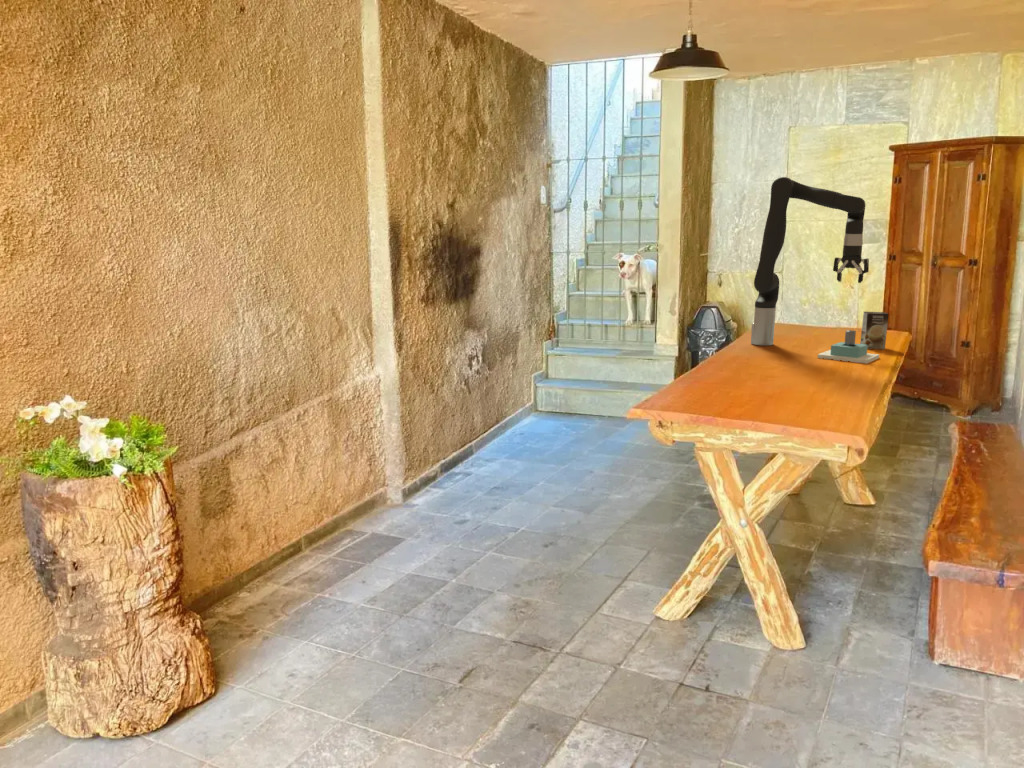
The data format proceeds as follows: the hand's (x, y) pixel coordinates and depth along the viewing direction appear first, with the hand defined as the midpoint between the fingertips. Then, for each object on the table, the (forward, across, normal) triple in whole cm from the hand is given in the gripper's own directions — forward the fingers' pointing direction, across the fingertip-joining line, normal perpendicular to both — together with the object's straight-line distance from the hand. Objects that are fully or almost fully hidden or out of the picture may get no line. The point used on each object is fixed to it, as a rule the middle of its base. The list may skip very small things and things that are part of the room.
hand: (849, 282), depth 350 cm
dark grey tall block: (+29, +8, -18) cm, 35 cm away
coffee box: (+30, +8, +14) cm, 34 cm away
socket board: (+30, +8, -18) cm, 36 cm away
